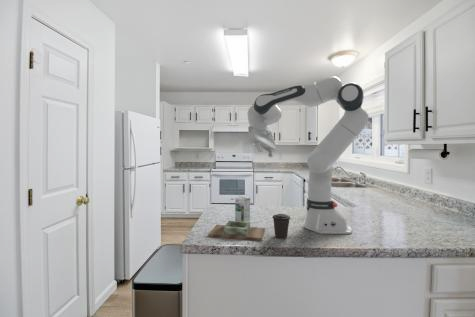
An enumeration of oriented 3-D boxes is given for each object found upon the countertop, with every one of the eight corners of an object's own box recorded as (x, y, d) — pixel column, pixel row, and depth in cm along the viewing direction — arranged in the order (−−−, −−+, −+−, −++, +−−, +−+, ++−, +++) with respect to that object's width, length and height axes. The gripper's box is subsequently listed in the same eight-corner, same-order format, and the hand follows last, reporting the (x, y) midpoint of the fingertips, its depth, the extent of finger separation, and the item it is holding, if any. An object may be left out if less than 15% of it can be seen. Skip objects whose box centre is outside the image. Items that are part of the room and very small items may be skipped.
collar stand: (264, 230, 130) (264, 221, 130) (261, 240, 116) (261, 231, 116) (216, 227, 134) (216, 218, 134) (208, 236, 121) (208, 227, 120)
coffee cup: (276, 240, 116) (276, 218, 116) (269, 234, 124) (269, 213, 124) (293, 238, 119) (293, 216, 118) (285, 232, 126) (285, 212, 126)
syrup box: (234, 225, 138) (234, 197, 137) (242, 222, 142) (242, 195, 141) (242, 227, 134) (242, 198, 133) (250, 225, 138) (250, 197, 137)
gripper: (252, 121, 133) (258, 144, 127) (274, 135, 148) (281, 156, 141) (243, 127, 137) (248, 150, 130) (265, 140, 151) (271, 162, 144)
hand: (265, 154), depth 136 cm, fingers open, 8 cm apart
